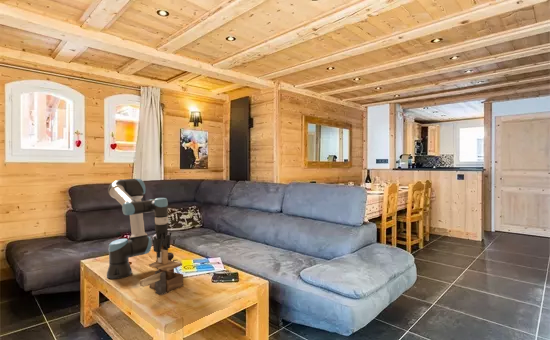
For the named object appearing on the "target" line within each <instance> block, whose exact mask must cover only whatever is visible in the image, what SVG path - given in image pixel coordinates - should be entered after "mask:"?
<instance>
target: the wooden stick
mask: <svg viewBox="0 0 550 340" xmlns="http://www.w3.org/2000/svg"><path fill="white" fill-rule="evenodd" d="M160 273H162V272H160ZM160 273H157V274H155V273H154V274H155V275H154V274H152V276H151V275H149V276H150V277H149V276H148V277H145V278H143V279H140V280H139V285H140V287H143V288H144V287H147V286H149V284H152V283H154V282H156V281H159V280H160Z"/></svg>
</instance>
